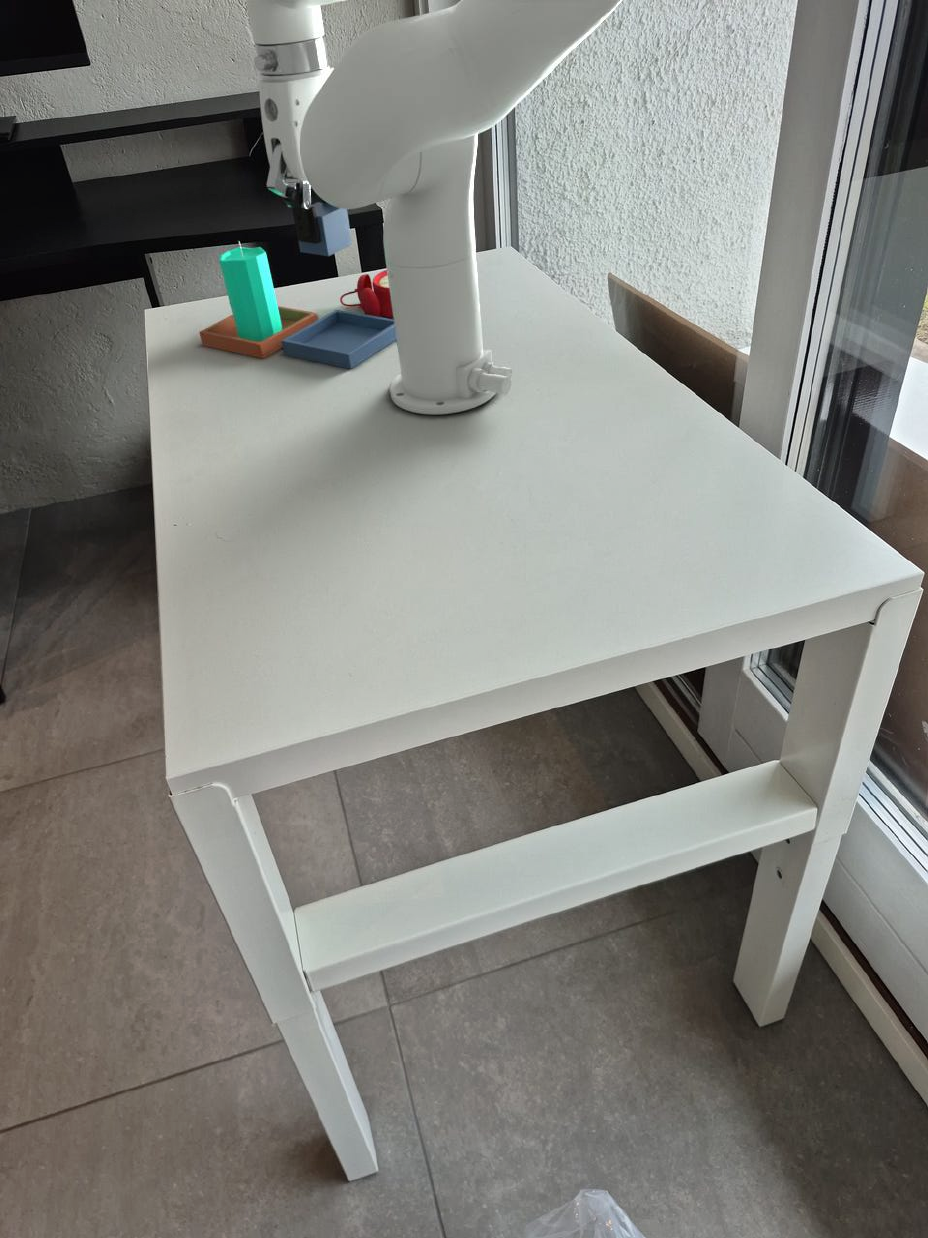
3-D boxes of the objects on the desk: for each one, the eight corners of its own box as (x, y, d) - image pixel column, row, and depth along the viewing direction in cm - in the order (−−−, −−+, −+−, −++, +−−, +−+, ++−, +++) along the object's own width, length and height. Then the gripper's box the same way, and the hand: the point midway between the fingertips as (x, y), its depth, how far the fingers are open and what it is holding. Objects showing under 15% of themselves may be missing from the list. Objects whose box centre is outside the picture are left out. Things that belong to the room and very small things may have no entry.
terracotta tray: (319, 326, 123) (316, 312, 122) (263, 358, 116) (259, 344, 115) (259, 315, 128) (256, 301, 127) (202, 345, 121) (198, 331, 120)
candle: (273, 341, 119) (252, 248, 112) (231, 341, 120) (207, 249, 113) (288, 323, 124) (269, 232, 116) (248, 324, 125) (226, 234, 117)
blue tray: (404, 334, 118) (402, 320, 117) (351, 369, 111) (348, 354, 110) (338, 322, 123) (336, 309, 122) (284, 354, 117) (280, 340, 115)
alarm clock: (458, 284, 120) (345, 276, 117) (452, 330, 124) (343, 323, 121) (444, 260, 128) (338, 251, 125) (439, 304, 132) (336, 297, 128)
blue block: (352, 244, 110) (346, 205, 107) (328, 256, 107) (321, 216, 104) (324, 240, 112) (317, 201, 109) (300, 251, 109) (293, 212, 106)
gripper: (265, 75, 90) (301, 261, 102) (368, 44, 100) (390, 216, 112) (212, 74, 94) (253, 254, 105) (317, 44, 104) (343, 211, 116)
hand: (323, 233), depth 109 cm, fingers closed on blue block, 4 cm apart
